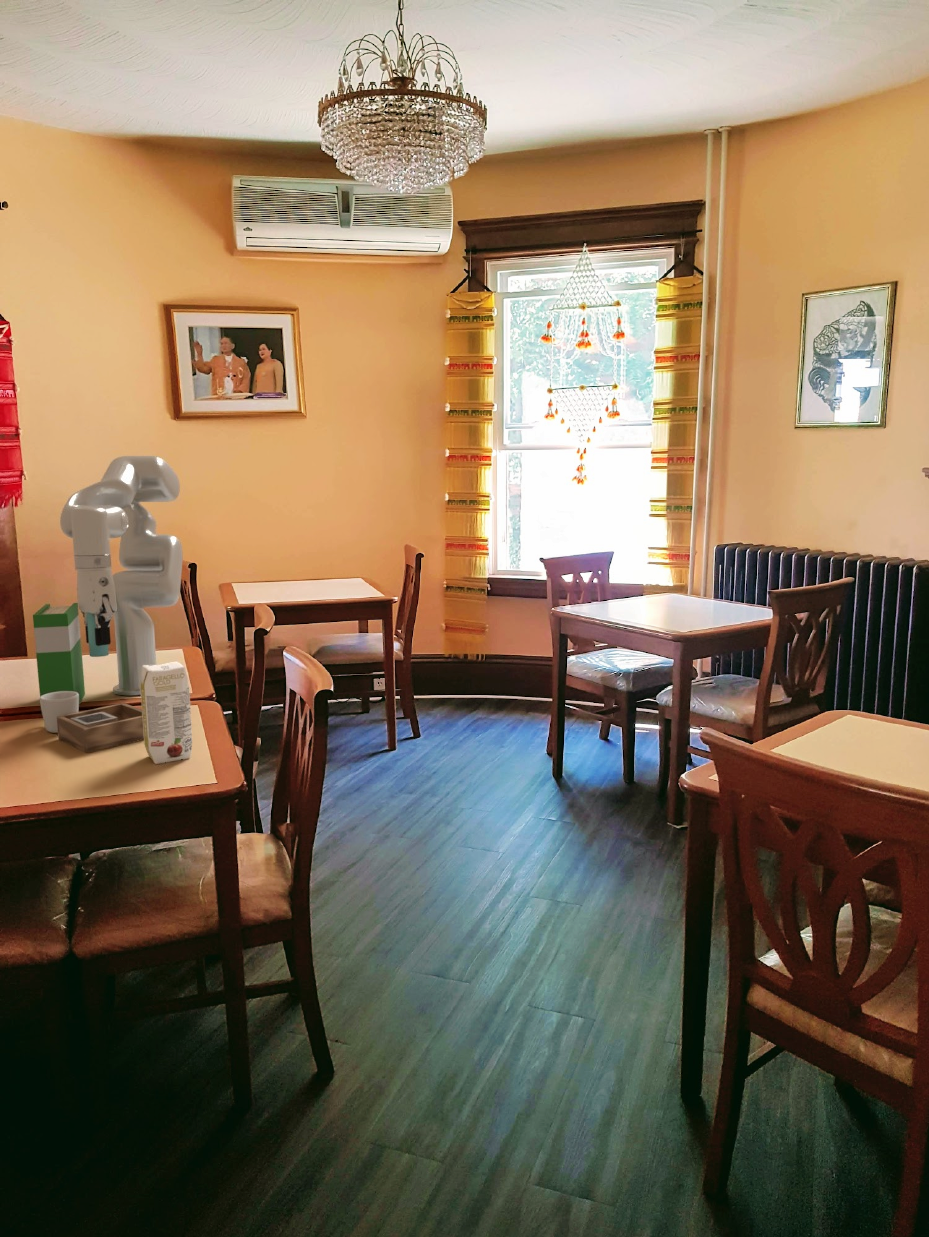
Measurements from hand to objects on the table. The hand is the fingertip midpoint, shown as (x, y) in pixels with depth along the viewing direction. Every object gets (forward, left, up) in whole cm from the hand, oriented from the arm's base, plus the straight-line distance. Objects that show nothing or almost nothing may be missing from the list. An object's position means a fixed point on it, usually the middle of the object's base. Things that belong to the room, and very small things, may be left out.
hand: (98, 642), depth 196 cm
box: (+5, +11, -19) cm, 23 cm away
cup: (+9, -3, -19) cm, 21 cm away
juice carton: (+2, +33, -19) cm, 39 cm away
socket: (+7, +11, -19) cm, 23 cm away
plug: (0, 0, -3) cm, 3 cm away
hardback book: (-1, -24, -19) cm, 30 cm away
